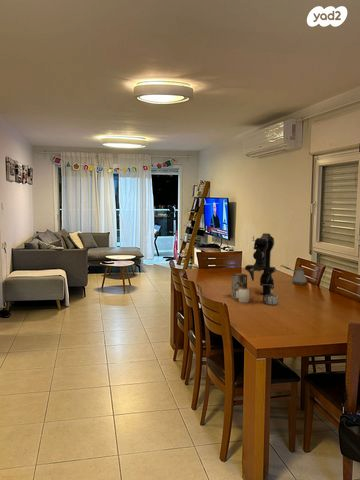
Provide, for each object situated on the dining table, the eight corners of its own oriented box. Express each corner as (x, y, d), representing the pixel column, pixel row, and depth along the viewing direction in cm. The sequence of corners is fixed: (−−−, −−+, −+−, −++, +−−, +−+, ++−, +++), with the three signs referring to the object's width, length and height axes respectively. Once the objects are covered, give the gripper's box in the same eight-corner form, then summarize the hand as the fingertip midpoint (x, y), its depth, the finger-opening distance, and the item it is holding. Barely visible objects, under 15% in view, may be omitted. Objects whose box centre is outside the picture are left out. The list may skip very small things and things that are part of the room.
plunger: (269, 296, 268) (269, 283, 268) (276, 296, 266) (276, 284, 266) (267, 297, 264) (267, 285, 264) (274, 298, 262) (274, 286, 261)
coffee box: (243, 296, 286) (243, 273, 285) (247, 298, 280) (247, 275, 278) (230, 296, 284) (231, 273, 282) (234, 299, 278) (235, 275, 276)
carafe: (264, 301, 272) (264, 293, 271) (278, 303, 267) (279, 295, 267) (261, 304, 265) (261, 295, 265) (275, 306, 261) (276, 297, 260)
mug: (237, 299, 278) (238, 287, 277) (250, 300, 274) (250, 289, 273) (234, 301, 271) (234, 289, 271) (247, 303, 267) (247, 291, 267)
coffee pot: (304, 282, 336) (305, 264, 334) (308, 285, 324) (309, 266, 323) (278, 282, 336) (278, 263, 335) (281, 285, 325) (281, 266, 323)
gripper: (242, 258, 262) (242, 282, 264) (271, 260, 253) (270, 285, 255) (248, 256, 272) (247, 279, 274) (276, 258, 263) (275, 282, 265)
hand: (259, 281), depth 267 cm, fingers open, 9 cm apart
